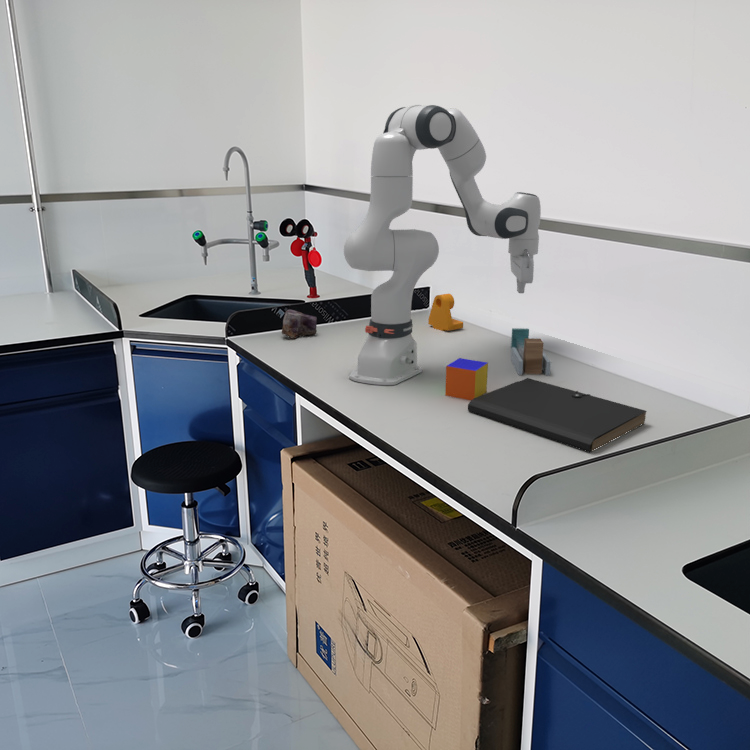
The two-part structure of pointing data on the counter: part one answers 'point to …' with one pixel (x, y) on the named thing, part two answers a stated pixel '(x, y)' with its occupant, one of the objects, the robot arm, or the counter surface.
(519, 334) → the teal headed mallet
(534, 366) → the walnut block
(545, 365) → the channel
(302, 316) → the rock
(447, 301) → the bracket
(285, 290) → the counter surface
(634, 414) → the black book
